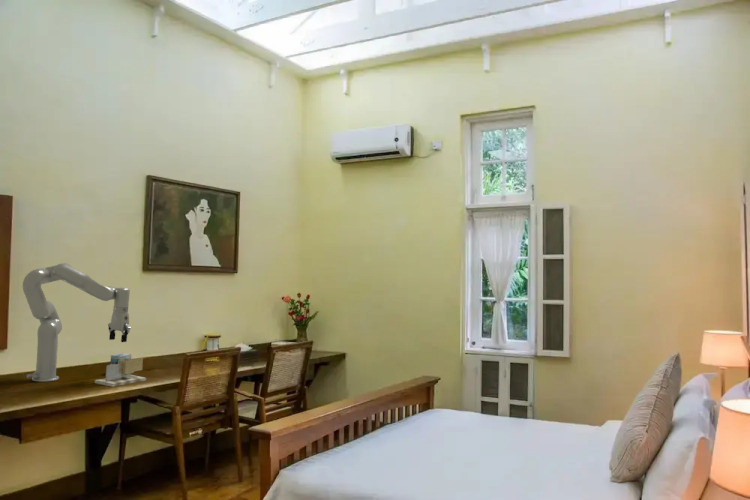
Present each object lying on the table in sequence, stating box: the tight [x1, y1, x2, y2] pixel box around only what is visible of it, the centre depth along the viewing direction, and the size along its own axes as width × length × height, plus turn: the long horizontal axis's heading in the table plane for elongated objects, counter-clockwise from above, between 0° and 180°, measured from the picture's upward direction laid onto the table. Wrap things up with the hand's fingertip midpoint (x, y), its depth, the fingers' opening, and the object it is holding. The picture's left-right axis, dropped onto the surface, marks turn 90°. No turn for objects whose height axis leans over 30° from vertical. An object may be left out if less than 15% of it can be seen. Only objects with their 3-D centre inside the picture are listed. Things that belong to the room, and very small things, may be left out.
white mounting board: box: [94, 374, 147, 388], centre depth 324 cm, size 22×14×2 cm, turn 153°
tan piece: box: [118, 357, 144, 374], centre depth 331 cm, size 14×6×7 cm, turn 153°
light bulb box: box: [109, 352, 132, 365], centre depth 348 cm, size 11×7×11 cm, turn 168°
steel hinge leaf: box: [104, 359, 132, 382], centre depth 323 cm, size 15×6×10 cm, turn 153°
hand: (117, 340), depth 330 cm, fingers open, 9 cm apart
